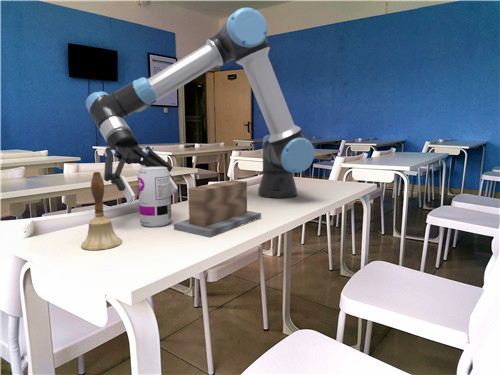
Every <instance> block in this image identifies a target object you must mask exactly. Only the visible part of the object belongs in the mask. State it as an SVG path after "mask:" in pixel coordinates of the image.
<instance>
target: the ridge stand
mask: <svg viewBox="0 0 500 375" xmlns="http://www.w3.org/2000/svg"><path fill="white" fill-rule="evenodd" d="M247 183H248V182H247V180H246V181H245V180H244V181H243V180H235V179H231V180H226V181H221V182H216V183H210V184H206V185H199V186H195V187H190V188H189V187H188V188H187V189H188V191H187V192H188V215H189V216H188V219H185V220H182V221H177V222H175V223H173V230H176V231H180V232H184V233H185V232H186V233H188V234H193V235H198V236H203V237H208V238H212V237H214V236H218V235H220V234H223V233H225V232H228V231H231V230H233V228H234V229H236V228H238V226H239V227H241V226H240V225H242V224H244V225H246V224H245V223H247V224H249V223H248V222H250V221H252V222H254V221H253V220H255V219H258V218H260V217H261V218H262V213H261V212H258V211H257V212H256V211H250V210H248V184H247ZM261 218H260V219H261ZM258 220H259V219H258ZM255 221H256V220H255ZM250 223H251V222H250ZM242 226H243V225H242ZM235 227H236V228H235Z"/></svg>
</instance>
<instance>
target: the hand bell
mask: <svg viewBox="0 0 500 375" xmlns="http://www.w3.org/2000/svg"><path fill="white" fill-rule="evenodd" d="M104 183H105V182H104V178H103V176H102V175H101V172H100V171H94V172H93V175H92V178H91V182H90V189H91V194H92V196H93V197H92V198H93V201H94V210H95V211H94V213H95V214H94V218H92V219H91V220H90V221H89V222H88V231H87V235H86V237H85V239H84V240H83V241H82V243H81V245H80V248H81V249H82V250H86V251H101V250H108V249H112V248H115V247H118V246H120V245H121V244H122V243H123V241H122V238H120V237H119V236H118V235H117V234H116V232H115V231H114V228H113V225H112V220H111V218H108V217H105V214H104V205H103V204H104V203H103V202H104V201H103V198H104V194H105V184H104Z"/></svg>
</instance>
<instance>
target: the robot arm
mask: <svg viewBox="0 0 500 375" xmlns="http://www.w3.org/2000/svg"><path fill="white" fill-rule="evenodd" d="M267 34H268V23H267V21H266V18H265V17H264V15H263V14H261V12H259V10H257V9H254V8H251V7H240V8H238V9H237V10H235V11H234V12H233V13H232V14H230V16H229V17H228V18H227V21H226V22H225V23H224V25H223V26H222V27H221V29H219V31H218V32H216V33H215V34H214V35H213V36H212V37H210V38H208V39H206V43H205V44H204V45H202V46H201V47H199V48H198V49H195V50H194V51H193V52H191V53H189V54H187V55H186V56H184V57H182V58H181V59H179V60H177V61H176V62H174V63H172V64H170V65H169V66H167V67H166V68H164V69H162V70H160V71H159V72H157V73H155V74H154V75H152V76H151V77H148V78H146V77H140V78H138V79H134V80H133V81H132V82H130V83H128V84H126V85H125V86H123V87H122V88H120V89H118V90H116V91H115V92H112V93H109V94H108V93H107V92H106V91H102V90H101V91H95V92H93V93H91V94H90V95H89V96H88V97H87V98H86V100H85V107H86V110H87V111H88V113H89V116H90V118H91V119H92V120H93V122H94V124H95V126H96V127H97V129H98V131H99V132H100V134H101V135H102V137H103V139H104V141H105V142H106V144H107V147H106V148H105V150H104V151H103V154H102V156H103V158H104V177H103V181H105V182H109V181H110V183H111V184H112V185H115V186H116V188H117V190H118V191H119V192H122V193H123V197H125V199H126V201H127V202H128V203H132V201H133V200H134V199H135V197H136V195H135V193H134V191H133V189H132V187H131V186H130V184H129V182H128V181H127V179H126V177H125V176H124V175H121V174H122V171H123V168H124V166H125V164H127V165H131V164H136V165H137V164H139V165H140V166H144V167H167V169H168V171H169V173H170V190H171V196H173V195H175V193H176V192H177V191H178V186H177V184H176V183H175V181H174V178H173V176H172V174H171V172H172V170H173V166H172V165H170V163H168V162H167V161H166V160H165V159H163V158H162V157H161V156H160V155H158V154H157V153H156V152H155V151H154V150H153V149H152V147H150V146H149V145H146V146H145V148H142V147H141V146H139V143H138V139H137V138H136V136H135V135H134V133H133V131H132V130H131V127H130V126H129V125H128V123H127V122H126V120H125V119H124V118H126V117H128V116H130V115H132V114H134V113H141V112H143V111H145V110H146V109H147V108H149V107H150V106H152V105H153V104H155V103H156V102H159V101H160V100H161V99H163V98H164V97H166V96H168V95H170V94H171V93H174V92H175V91H177V90H179V88H182V87H183V86H185V85H186V84H188V83H190V82H191V81H193V80H195V79H197V78H198V77H200V76H202V75H203V74H204V73H207V71H210V70H211V69H213V68H215V67H217V66H219V67H222V66H224V65H225V64H228V63H230V62H231V61H235V63H236V64H238V65H239V66H241V67H242V68H243V69H244V72H245V75H246V78H247V80H248V82H249V84H250V85H249V86H250V87H251V89H252V92H253V95H254V97H255V99H256V102H257V104H258V106H259V109H260V111H261V114H262V116H263V118H264V121H265V124H266V126H267V129H268V131H269V134H267V135H264V136H263V137H262V138H263V139H262V144H261V146H262V177H261V179H260V183H259V186H258V187H257V188H258V189H257V195H258V194H259V195H261V196H260V197H263V196H265V197H264V198H269V197H288V198H292V197H291V196H294V197H296V196H295V195H297V196H298V188H297V186H296V182H295V178H294V173H302V172H304V171H306V170H307V169H308V168H310V167H311V165H312V163H313V161H314V159H315V147H314V145H313V144H312V142H311V141H309V140H308V139H307V138H305V136H304V134H303V131H302V128H301V127H300V126H298V125H296V124H295V123H294V121H293V118H292V115H291V113H290V110H289V107H288V105H287V102H286V100H285V97H284V94H283V92H282V89H281V87H280V83H279V82H278V79H277V76H276V74H275V70H274V69H273V66H272V63H271V61H270V58H269V51H270V49H271V47H270V44H269V42H268V39H267ZM114 157H115V158H117V159H118V160H119V161H118V163H117V166H116V169H115V171H114V172H113V166H114V165H113V163H114ZM142 157H143V159H142ZM141 159H142V160H141ZM259 195H258V196H259Z"/></svg>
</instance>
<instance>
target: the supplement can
mask: <svg viewBox="0 0 500 375" xmlns="http://www.w3.org/2000/svg"><path fill="white" fill-rule="evenodd" d="M170 175H171V172H170V173H169V171H168V169H167V167H146V166H144V167H140V168H139V171H138V173H137V185H138V186H137V189H138V190H137V191H138V207H139V209H138V210H139V223H140V224H141V225H142V226H144V227H149V228H157V227H165V226H167V225H169V224H170V222H172V221H173V220H172V219H173V218H172V197H171V196H172V195H171V190H170Z"/></svg>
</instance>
